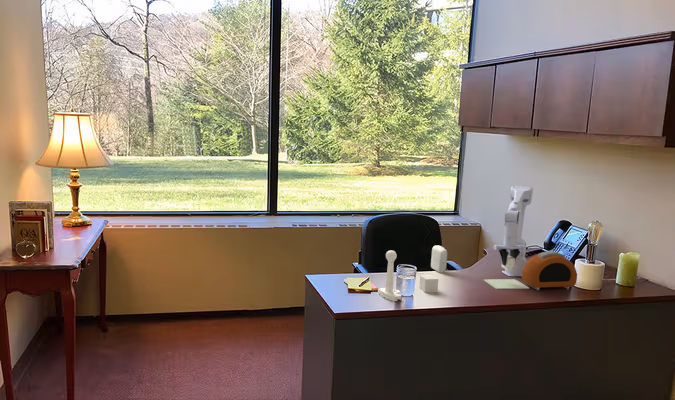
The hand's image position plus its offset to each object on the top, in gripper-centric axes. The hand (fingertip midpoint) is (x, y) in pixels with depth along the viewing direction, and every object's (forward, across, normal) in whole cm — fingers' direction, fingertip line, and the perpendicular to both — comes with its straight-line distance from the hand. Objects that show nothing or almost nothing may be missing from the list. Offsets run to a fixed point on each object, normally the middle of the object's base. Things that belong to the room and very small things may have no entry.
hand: (507, 265), depth 240 cm
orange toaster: (+10, +19, -4) cm, 22 cm away
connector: (+2, 0, -1) cm, 2 cm away
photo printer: (+10, -24, +24) cm, 35 cm away
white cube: (+10, -40, -6) cm, 42 cm away
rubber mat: (+9, 0, 0) cm, 9 cm away
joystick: (+10, -59, -14) cm, 61 cm away
